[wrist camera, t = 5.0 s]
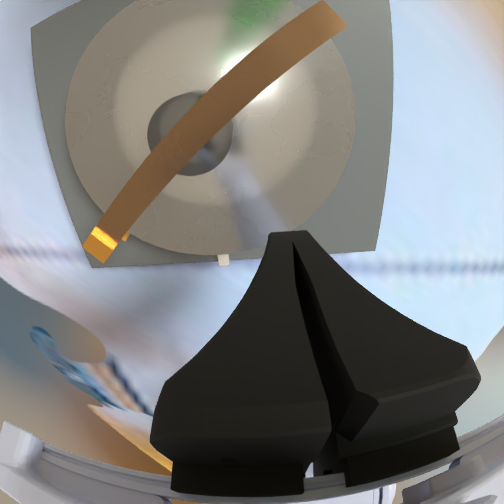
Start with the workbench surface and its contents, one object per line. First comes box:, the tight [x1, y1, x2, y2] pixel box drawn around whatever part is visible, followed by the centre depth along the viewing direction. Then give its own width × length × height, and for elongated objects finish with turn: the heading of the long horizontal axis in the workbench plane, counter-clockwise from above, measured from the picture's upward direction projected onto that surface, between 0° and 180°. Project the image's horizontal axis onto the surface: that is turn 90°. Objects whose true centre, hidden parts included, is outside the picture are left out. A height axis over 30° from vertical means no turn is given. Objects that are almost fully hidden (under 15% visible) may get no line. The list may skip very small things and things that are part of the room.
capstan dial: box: [65, 0, 356, 264], centre depth 10 cm, size 13×13×4 cm
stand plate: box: [31, 0, 393, 268], centre depth 13 cm, size 16×18×2 cm
